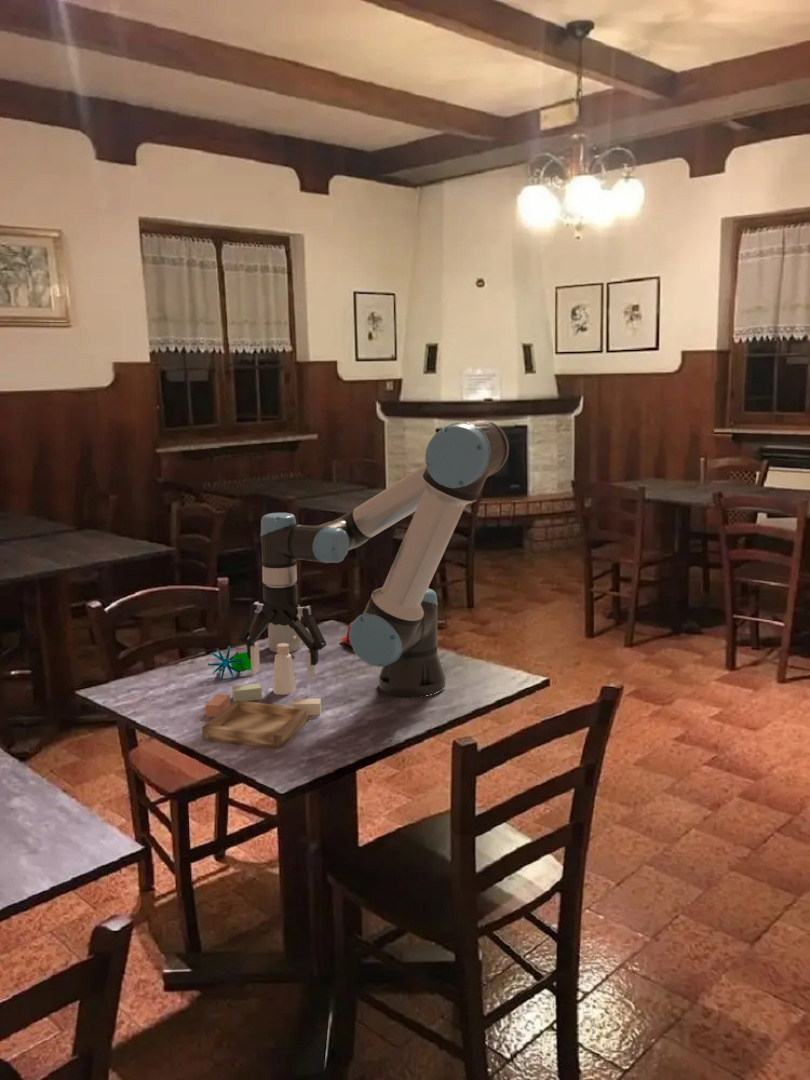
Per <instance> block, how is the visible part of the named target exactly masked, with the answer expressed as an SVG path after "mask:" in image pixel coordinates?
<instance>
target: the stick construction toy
mask: <svg viewBox="0 0 810 1080" xmlns="http://www.w3.org/2000/svg"><path fill="white" fill-rule="evenodd" d="M216 650H217V653H218V654H216V653H214V652H211V653H210V654H209V655H210V656H214V657H215V658H216V659H218V660H219V661H220V662H215V663H210V662H209V663H208V664H207V667H217V668H215V669H214V670H213V671H212V675H214V674H215V673H216V672H219V673H220V674H221V675H220V681H223V680H224V676H225V671H226V668H227V670H228V673H230V676H231V679H234V677H235V675H234V673H233V672H236V673H237V674H240V673H241V672H242V673H243V672H246V671H251V659H248V657H247V651H244V652H242V653H239V652H236V653H235V654H233V655H232V656H231V657H230V651H231V646H230V645H229V646H228V647H227V651H226V655H225V658H224V656H223V654H222V652H221V651H220V647H218V648H217V649H216Z"/></svg>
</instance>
